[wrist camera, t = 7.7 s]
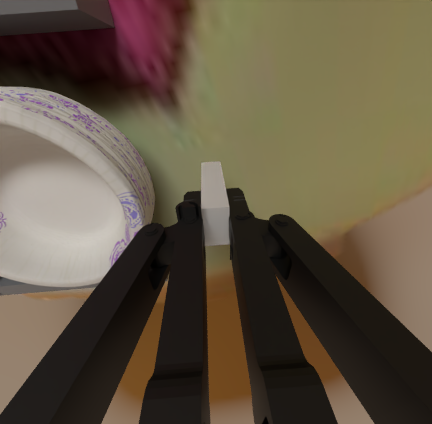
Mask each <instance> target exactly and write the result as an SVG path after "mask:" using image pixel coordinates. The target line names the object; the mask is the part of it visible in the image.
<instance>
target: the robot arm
mask: <svg viewBox="0 0 432 424" xmlns="http://www.w3.org/2000/svg"><path fill="white" fill-rule="evenodd" d="M176 213H177V218H178V222H177V223H176V224H174V225H172V226H170V227H166V228H164V227H163V226H162V225H161V224H158V223H151V224H147V225H145V226H143V227H142V228H141V229H140V230H139V231H138V232H137V234H136V235H135V236H134V238H133V239H132V240H131V242H130V243H129V244H128V246H127V247H126V248H125V250H124V251H123V252H122V254H121V255H120V256H119V258H118V259H117V260H116V262H115V263H114V264H113V266H112V267H111V268H110V270H109V271H108V272H107V274H106V275H105V276H104V278H103V279H102V280H101V282H100V283H99V284H98V286H97V287H96V288H95V290H94V291H93V292H92V294H91V295H90V296H89V298H88V299H87V300H86V301H85V303H84V304H83V305H82V307H81V308H80V309H79V311H78V312H77V313H76V315H75V316H74V317H73V319H72V320H71V321H70V323H69V324H68V325H67V327H66V328H65V329H64V331H63V332H62V334H61V335H60V336H59V337H58V339H57V340H56V341H55V343H54V344H53V345H52V347H51V348H50V349H49V351H48V352H47V353H46V355H45V356H44V357H43V359H42V360H41V362H40V363H39V364H38V365H37V367H36V368H35V369H34V371H33V372H32V373H31V375H30V376H29V377H28V379H27V380H26V381H25V383H24V384H23V386H22V387H21V388H20V389H19V391H18V392H17V393H16V394H15V396H14V397H13V398H12V400H11V401H10V402H9V404H8V405H7V406H6V408H5V409H4V410H3V412H2V413H1V414H0V424H101V423H102V421H103V418H104V416H105V414H106V412H107V409H108V407H109V405H110V403H111V401H112V398H113V396H114V394H115V392H116V389H117V387H118V384H119V383H120V381H121V378H122V376H123V374H124V372H125V369H126V367H127V365H128V363H129V361H130V358H131V356H132V354H133V352H134V349H135V347H136V345H137V343H138V340H139V338H140V336H141V334H142V332H143V329H144V327H145V325H146V323H147V320H148V318H149V316H150V314H151V312H152V309H153V307H154V305H155V303H156V300H157V298H158V296H159V294H160V292H161V289H162V287H163V285H164V283H165V280H166V278H167V276H168V274H169V272H170V274H169V281H168V287H167V293H166V300H165V306H164V312H163V319H162V325H161V332H160V338H159V345H158V351H157V357H156V363H155V369H154V373H153V375H152V377H151V378H150V380H149V381H148V384H147V387H146V389H145V394H144V398H143V403H142V410H141V415H140V420H139V424H210V407H209V384H208V383H209V382H208V339H207V295H206V252H205V246H214V245H229V244H230V260H232V267H233V273H234V280H235V286H236V293H237V299H238V306H239V313H240V319H241V326H242V332H243V339H244V345H245V352H246V359H247V365H248V371H249V378H250V384H251V392H252V404H253V415H254V422H255V424H338V423H337V420H336V418H335V415H334V413H333V410H332V407H331V405H330V402H329V400H328V397H327V394H326V392H325V389H324V386H323V384H322V382H321V379H320V377H319V375H318V373H317V372H316V370H315V368H314V367H313V366H312V365H311V364H309V363H308V362H307V360H306V359H305V356H304V354H303V351H302V349H301V346H300V343H299V340H298V337H297V335H296V332H295V329H294V326H293V323H292V321H291V318H290V315H289V312H288V310H287V307H286V304H285V301H284V298H283V295H282V293H281V290H280V287H279V284H278V281H277V278H276V276H277V277H278V279H279V280H280V282H281V283H282V285H283V286H284V288H285V289H286V291H287V292H288V294H289V296H290V297H291V298H292V300H293V302H294V303H295V305H296V306H297V308H298V309H299V311H300V312H301V313H302V315H303V317H304V318H305V320H306V321H307V323H308V324H309V326H310V327H311V329H312V330H313V332H314V333H315V335H316V336H317V338H318V339H319V341H320V342H321V344H322V345H323V347H324V348H325V350H326V351H327V353H328V354H329V356H330V357H331V359H332V360H333V362H334V363H335V365H336V366H337V368H338V369H339V371H340V372H341V374H342V375H343V377H344V378H345V380H346V381H347V383H348V384H349V386H350V387H351V389H352V390H353V392H354V393H355V395H356V396H357V398H358V399H359V401H360V402H361V404H362V405H363V407H364V408H365V410H366V411H367V413H368V414H369V415H370V417H371V419H372V420H373V422H374V423H375V424H432V352H431V351H430V350H429V349H428V348H427V347H426V346H425V345H424V344H423V343H422V342H421V341H419V340H418V339H417V338H416V337H415V336H414V335H413V334H412V333H411V332H410V331H409V330H408V329H407V328H406V327H405V326H404V325H403V324H402V323H401V322H400V321H399V320H398V319H397V318H395V316H393V315H392V314H391V313H390V312H389V311H388V310H387V309H386V308H385V307H384V306H383V305H382V304H381V303H380V302H379V301H378V300H377V299H376V298H375V297H374V296H373V295H372V294H370V292H368V291H367V290H366V289H365V288H364V287H363V286H362V285H361V284H360V283H359V282H358V281H357V280H356V279H355V278H354V277H353V276H352V275H351V274H350V273H349V272H348V271H347V270H345V268H343V267H342V266H341V265H340V264H339V263H338V262H337V261H336V260H335V259H334V258H333V257H332V256H331V255H330V254H329V253H328V252H327V251H326V250H325V249H324V248H323V247H322V246H321V245H320V244H319V243H317V242H316V241H315V240H314V239H313V238H312V237H311V236H310V235H309V234H308V233H307V232H306V231H305V230H304V229H303V228H302V227H301V226H300V225H299V224H298V223H297V222H296V221H295V220H294V219H292V218H291V217H289V216H287V215H283V214H276V215H273V216H271V217H270V218H269V220H262V219H258V218H255V217H254V215H253V213H252V212H250V211H249V209H248V206H247V203H246V200H245V197H244V194H243V191H242V190H240V189H239V188H231V189H226V187H225V182H224V177H223V172H222V168H221V163H220V161H217V162H201V191H192V192H187V193H186V194H185V195H184V201H183V202H181V203H179V204H178V205H177V206H176ZM275 274H276V276H275Z"/></svg>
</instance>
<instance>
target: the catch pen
mask: <svg viewBox="0 0 432 424" xmlns="http://www.w3.org/2000/svg"><path fill="white" fill-rule="evenodd" d="M103 28H115V26H114V22H113V19H112V15H111V11H110V7H109V3H108V0H0V36H5V35H19V34H33V33H47V32H61V31H75V30H89V29H103ZM167 279H168V276H167V278H166V280H165V281H167ZM99 283H100V282H99ZM99 283H96V284H91V285H86V286H79V287H49V286H40V285H33V284H27V283H23V282H19V281H14V280H11V279H8V278H4V277H1V276H0V295H10V294H23V293H34V292H46V291H58V290H69V289H81V288H92V287H97V286H98V284H99Z"/></svg>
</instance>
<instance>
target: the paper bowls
mask: <svg viewBox="0 0 432 424" xmlns="http://www.w3.org/2000/svg"><path fill="white" fill-rule="evenodd" d="M154 193H155V192H154V189H153V183H152V179H151V176H150V173H149V171H148V169H147V166H146V165H145V163H144V160H143V159H142V157H141V156H140V154H139V152H138V151H137V150H136V149H135V147H134V146H133V145H132V143H131V142H130V141H129V139H128V138H126V136H125V135H124V134H122V133H121V132H120V131H119V130H118V129H117V128H115V127H114V126H113V125H112V124H111V123H110V122H108V121H107V120H106V119H104V118H103V117H101V116H100V115H98V114H97V113H95V112H94V111H92V110H91V109H89V108H87V107H85V106H84V105H82V104H80V103H78V102H76V101H74V100H72V99H69V98H67V97H65V96H62V95H60V94H57V93H54V92H51V91H47V90H42V89H35V88H29V87H0V276H1V277H4V278H8V279H11V280H14V281H19V282H23V283H27V284H33V285H40V286H49V287H79V286H86V285H91V284H96V283H99V282H101V280H102V279H103V278H104V276H105V275H106V274H107V272H108V271H109V270H110V268H111V267H112V266H113V264H114V263H115V262H116V260H117V259H118V258H119V256H120V255H121V254H122V252H123V251H124V250H125V248H126V247H127V246H128V244H129V243H130V242H131V240H132V239H133V238H134V236H135V235H136V234H137V232H138V231H139V230H140V229H141V228H142V227H143V226H145V225H147V224H151V221H152V218H153V212H154V206H155V195H154Z"/></svg>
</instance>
